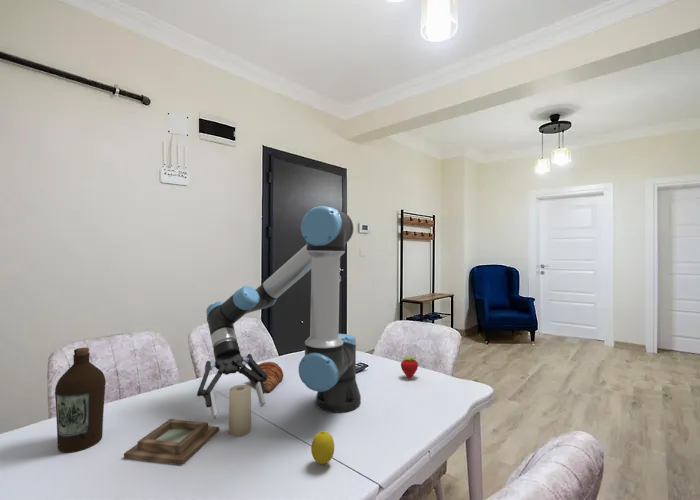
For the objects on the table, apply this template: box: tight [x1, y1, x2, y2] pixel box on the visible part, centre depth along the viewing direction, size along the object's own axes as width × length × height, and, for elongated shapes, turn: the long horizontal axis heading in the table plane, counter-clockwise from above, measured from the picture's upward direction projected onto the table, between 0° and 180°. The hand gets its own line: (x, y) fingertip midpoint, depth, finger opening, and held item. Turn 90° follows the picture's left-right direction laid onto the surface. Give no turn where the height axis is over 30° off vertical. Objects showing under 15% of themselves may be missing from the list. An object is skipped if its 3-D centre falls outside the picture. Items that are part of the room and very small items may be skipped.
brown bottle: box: [54, 347, 107, 454], centre depth 91 cm, size 11×11×25 cm
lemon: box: [310, 430, 335, 465], centre depth 82 cm, size 6×6×8 cm
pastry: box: [247, 361, 284, 393], centre depth 134 cm, size 17×15×8 cm
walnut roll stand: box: [123, 418, 220, 466], centre depth 91 cm, size 16×16×3 cm
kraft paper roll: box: [228, 384, 252, 438], centre depth 98 cm, size 6×6×12 cm
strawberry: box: [400, 354, 419, 379], centre depth 139 cm, size 6×8×10 cm
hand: (239, 410), depth 97 cm, fingers open, 13 cm apart
